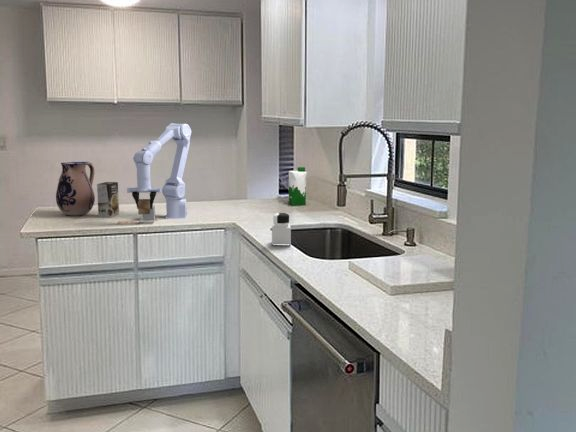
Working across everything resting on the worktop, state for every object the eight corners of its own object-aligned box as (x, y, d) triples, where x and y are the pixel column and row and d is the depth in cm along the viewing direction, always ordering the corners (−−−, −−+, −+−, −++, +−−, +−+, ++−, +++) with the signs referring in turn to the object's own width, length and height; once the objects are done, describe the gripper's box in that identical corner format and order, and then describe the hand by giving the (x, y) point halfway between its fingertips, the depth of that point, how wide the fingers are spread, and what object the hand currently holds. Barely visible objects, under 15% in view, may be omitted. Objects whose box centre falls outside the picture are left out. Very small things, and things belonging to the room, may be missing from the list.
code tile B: (159, 218, 277) (159, 217, 277) (156, 221, 270) (156, 220, 269) (141, 218, 277) (141, 217, 277) (139, 221, 269) (139, 220, 269)
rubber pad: (154, 221, 268) (154, 221, 268) (152, 225, 262) (152, 224, 262) (138, 222, 268) (138, 221, 268) (136, 225, 261) (136, 224, 261)
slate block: (155, 218, 276) (154, 205, 275) (154, 220, 271) (153, 207, 270) (144, 218, 275) (144, 205, 274) (142, 220, 270) (142, 207, 269)
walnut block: (151, 212, 266) (151, 199, 265) (150, 214, 262) (149, 200, 260) (140, 212, 266) (139, 199, 265) (138, 214, 261) (137, 200, 260)
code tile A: (137, 221, 269) (137, 220, 269) (134, 225, 261) (134, 224, 261) (119, 221, 268) (119, 220, 268) (115, 225, 261) (115, 224, 261)
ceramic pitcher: (49, 216, 280) (45, 163, 275) (77, 209, 299) (74, 159, 295) (80, 218, 274) (77, 165, 270) (107, 211, 294) (104, 161, 290)
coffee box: (110, 218, 276) (109, 184, 272) (98, 218, 277) (96, 183, 274) (120, 215, 284) (118, 181, 281) (107, 214, 286) (106, 181, 283)
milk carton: (307, 205, 315) (308, 168, 311) (291, 206, 312) (291, 168, 308) (302, 203, 323) (302, 166, 319) (286, 203, 320) (286, 166, 317)
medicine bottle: (290, 241, 232) (290, 211, 229) (290, 246, 225) (291, 215, 222) (271, 241, 231) (271, 211, 229) (271, 246, 224) (272, 215, 222)
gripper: (125, 179, 256) (126, 210, 259) (159, 179, 258) (160, 210, 260) (128, 177, 263) (129, 207, 266) (161, 177, 265) (162, 207, 267)
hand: (144, 208), depth 263 cm, fingers closed on walnut block, 5 cm apart
